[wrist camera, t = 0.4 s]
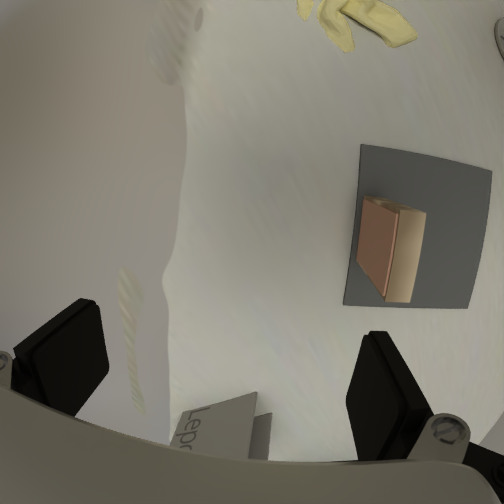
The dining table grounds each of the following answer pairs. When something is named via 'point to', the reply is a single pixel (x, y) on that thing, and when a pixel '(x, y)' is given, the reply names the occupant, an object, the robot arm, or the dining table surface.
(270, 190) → the dining table surface
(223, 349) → the dining table surface
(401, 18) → the cloth
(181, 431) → the grey tall flat panel
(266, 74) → the dining table surface
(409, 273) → the tile
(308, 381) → the dining table surface
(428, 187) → the mat
